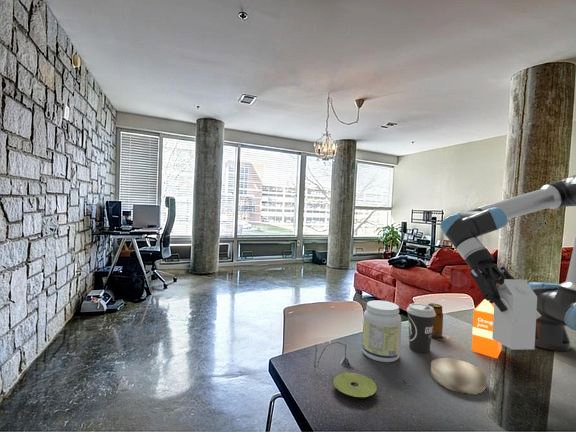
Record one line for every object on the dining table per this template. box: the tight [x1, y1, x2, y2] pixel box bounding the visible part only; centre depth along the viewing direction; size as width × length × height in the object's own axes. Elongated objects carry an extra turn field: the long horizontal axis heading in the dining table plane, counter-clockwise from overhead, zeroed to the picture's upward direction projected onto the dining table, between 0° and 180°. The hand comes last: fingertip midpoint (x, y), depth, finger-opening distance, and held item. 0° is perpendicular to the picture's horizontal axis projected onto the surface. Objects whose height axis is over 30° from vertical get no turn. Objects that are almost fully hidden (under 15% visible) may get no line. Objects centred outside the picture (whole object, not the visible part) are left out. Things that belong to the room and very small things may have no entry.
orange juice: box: [471, 298, 503, 359], centre depth 108 cm, size 8×9×20 cm
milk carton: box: [492, 278, 537, 351], centre depth 89 cm, size 7×7×19 cm
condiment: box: [427, 303, 451, 342], centre depth 120 cm, size 7×8×12 cm
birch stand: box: [430, 357, 487, 395], centre depth 88 cm, size 14×14×3 cm
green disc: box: [332, 372, 378, 398], centre depth 81 cm, size 11×11×2 cm
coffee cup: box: [406, 302, 436, 354], centre depth 108 cm, size 10×10×15 cm
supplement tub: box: [362, 299, 402, 363], centre depth 102 cm, size 12×12×17 cm
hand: (526, 320), depth 86 cm, fingers closed on milk carton, 9 cm apart
